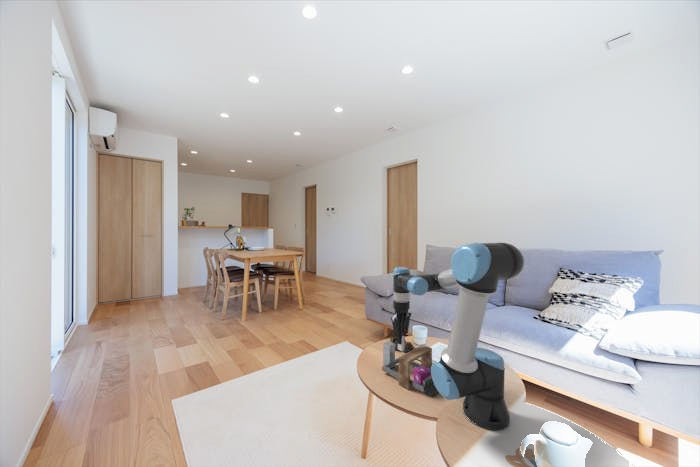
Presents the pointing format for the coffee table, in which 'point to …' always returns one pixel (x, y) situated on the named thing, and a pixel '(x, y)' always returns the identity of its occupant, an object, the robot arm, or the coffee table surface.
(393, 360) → the sled
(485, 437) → the coffee table surface
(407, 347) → the rock
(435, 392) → the pit tray
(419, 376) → the puzzle toy
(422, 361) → the tunnel
